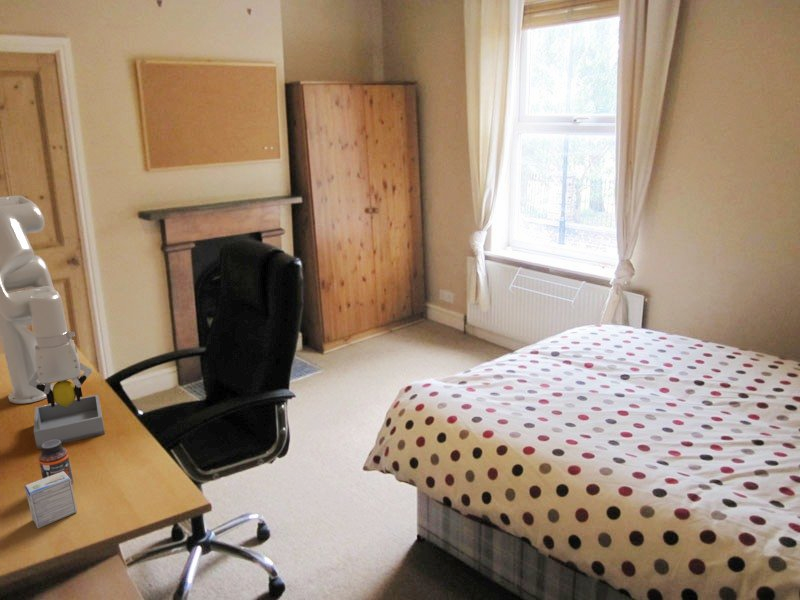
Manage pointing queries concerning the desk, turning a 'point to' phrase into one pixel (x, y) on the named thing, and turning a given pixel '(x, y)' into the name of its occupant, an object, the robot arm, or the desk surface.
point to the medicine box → (51, 499)
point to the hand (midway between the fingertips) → (65, 401)
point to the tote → (68, 421)
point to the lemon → (64, 393)
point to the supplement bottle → (54, 459)
